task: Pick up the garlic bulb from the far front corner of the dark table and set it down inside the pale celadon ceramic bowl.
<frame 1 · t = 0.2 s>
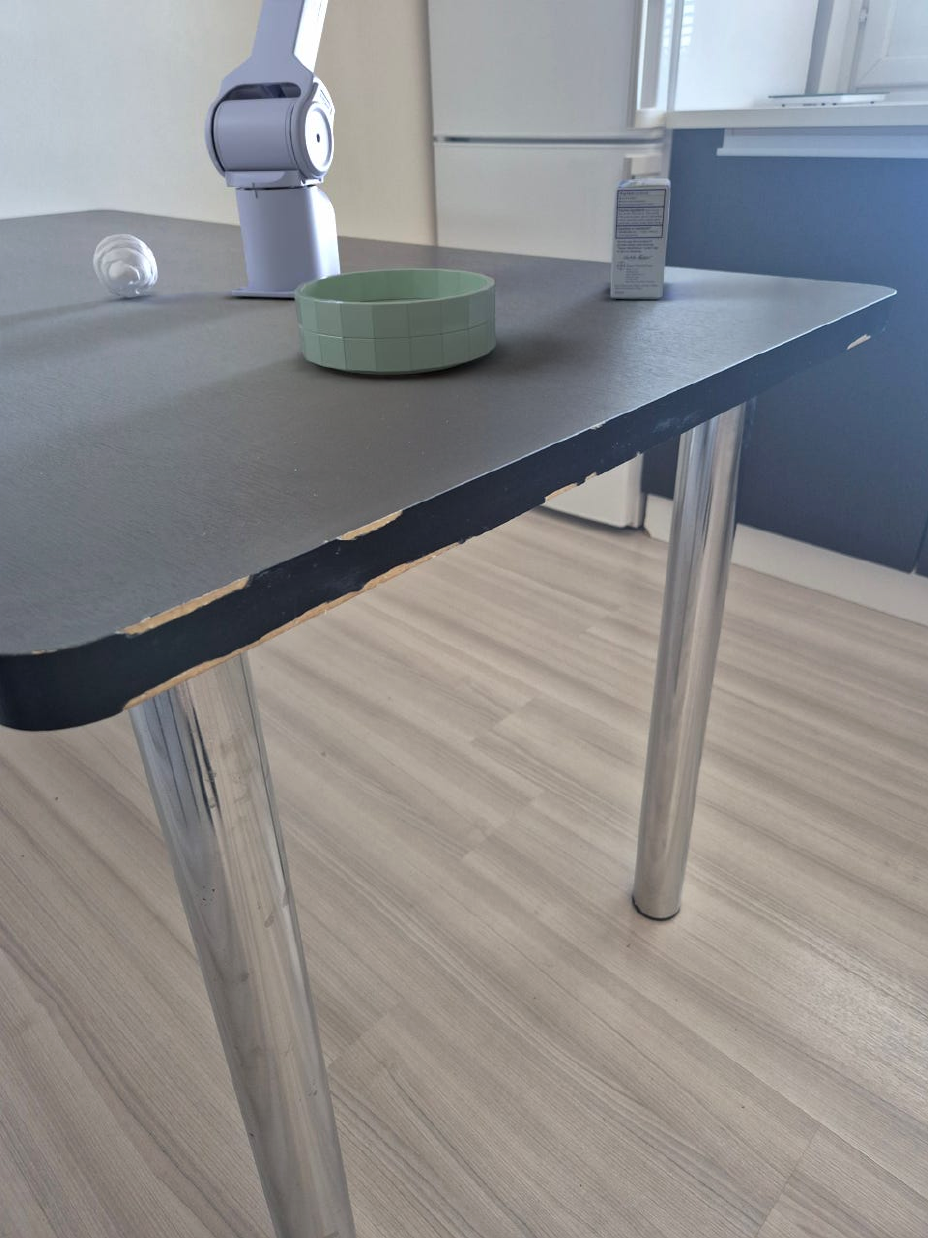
medicine box: (636, 293, 75), on the table
bowl: (399, 354, 57), on the table
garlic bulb: (133, 301, 78), on the table
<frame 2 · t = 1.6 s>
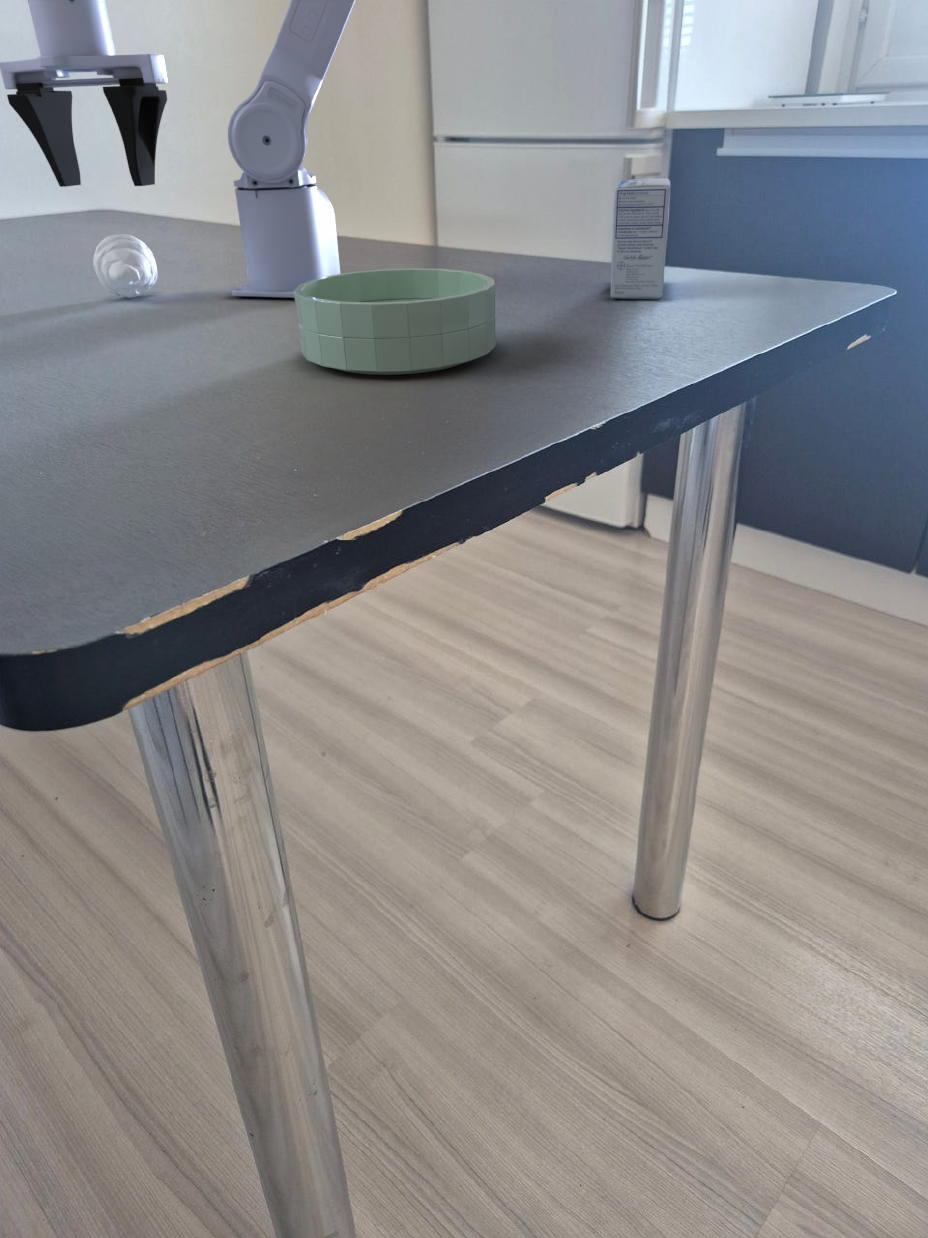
hand: (107, 185, 73), 9 cm above the table, tool pointing down, fingers open, 7 cm apart
nothing on the table moved.
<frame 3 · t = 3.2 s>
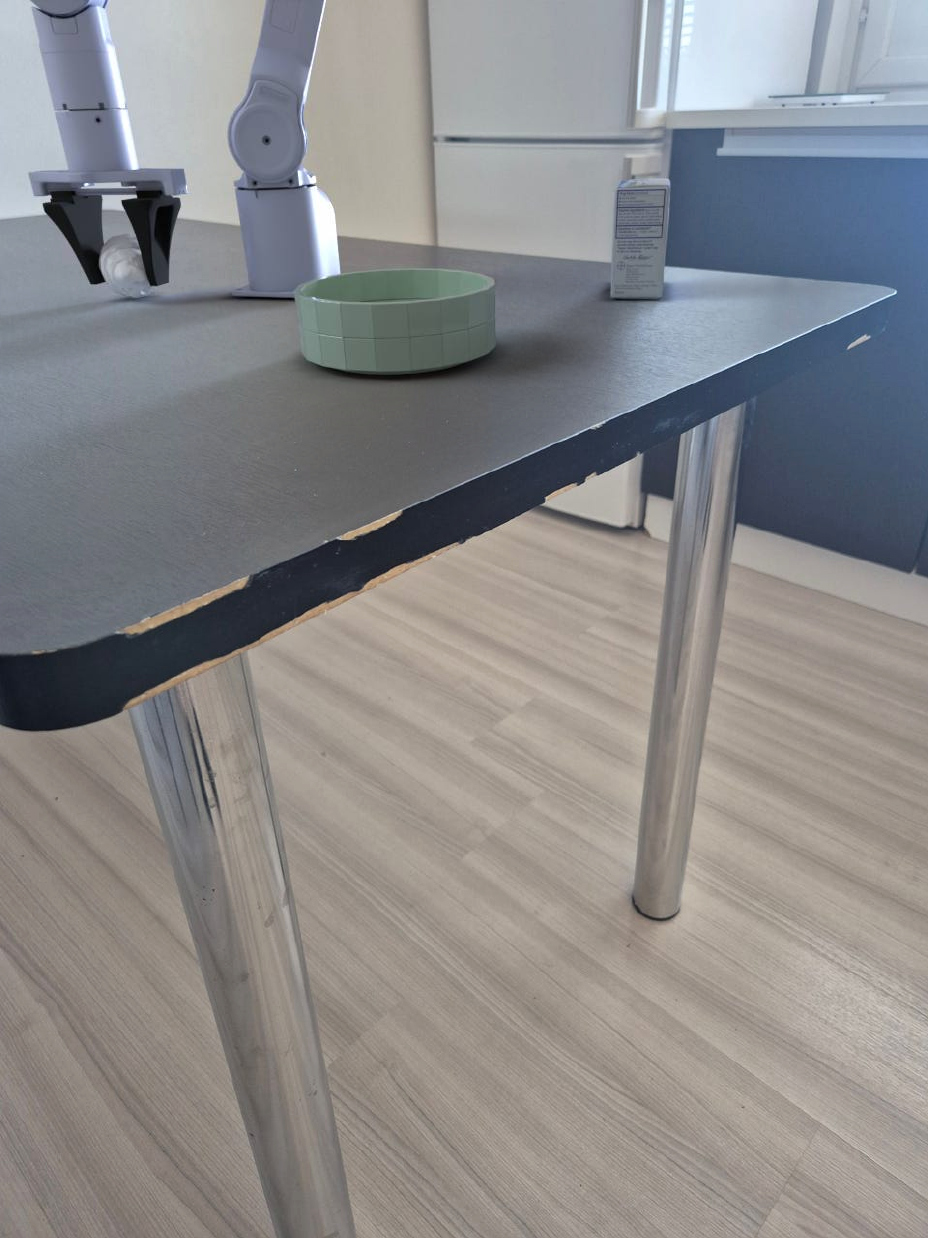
hand: (129, 283, 77), 1 cm above the table, tool pointing down, fingers closed on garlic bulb, 6 cm apart
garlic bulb: (139, 302, 78), on the table, touching gripper
everything else where it was.
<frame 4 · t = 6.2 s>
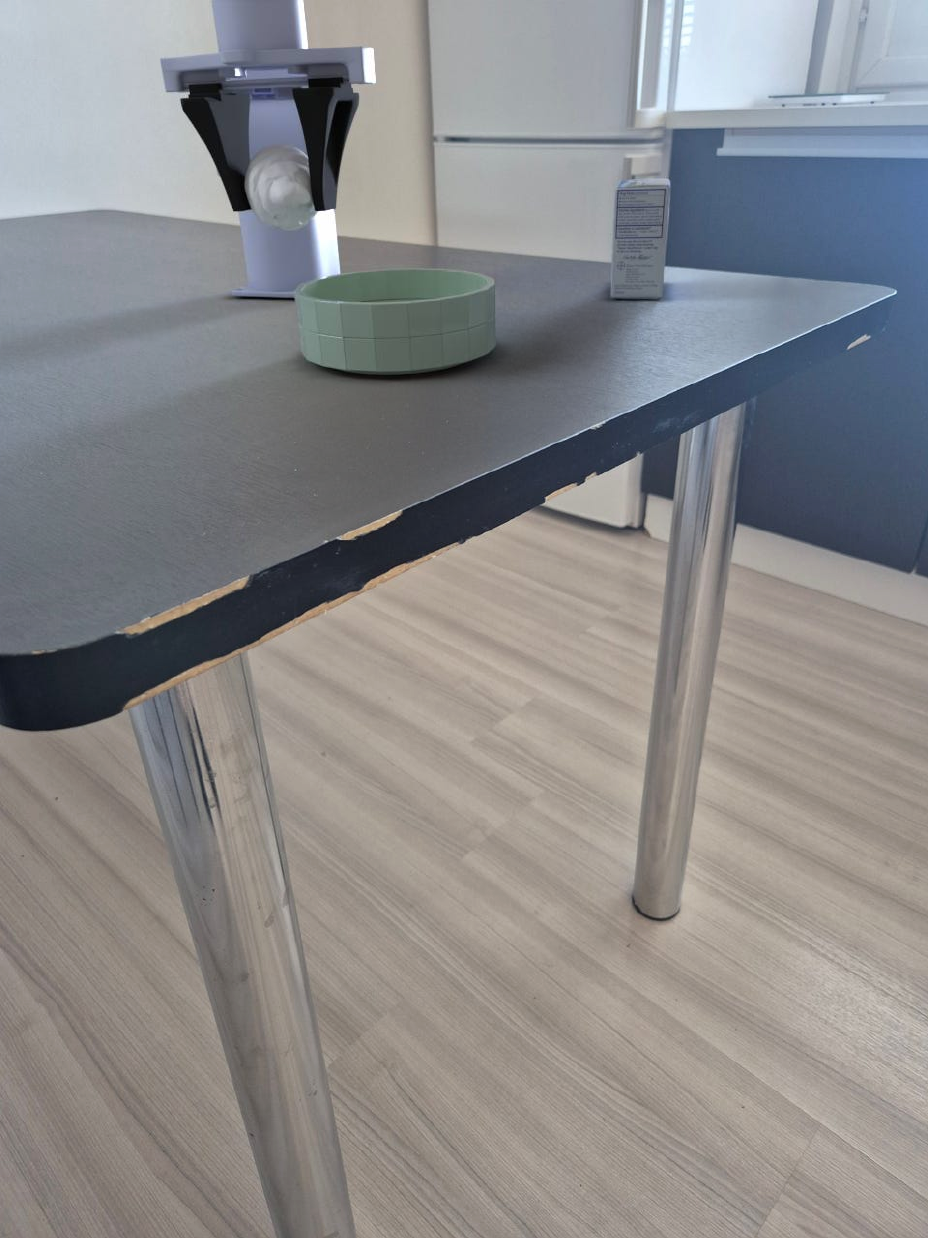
hand: (283, 210, 59), 8 cm above the table, tool pointing down, fingers closed on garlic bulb, 6 cm apart
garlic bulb: (294, 235, 60), point 7 cm above the table, touching gripper
everything else where it was.
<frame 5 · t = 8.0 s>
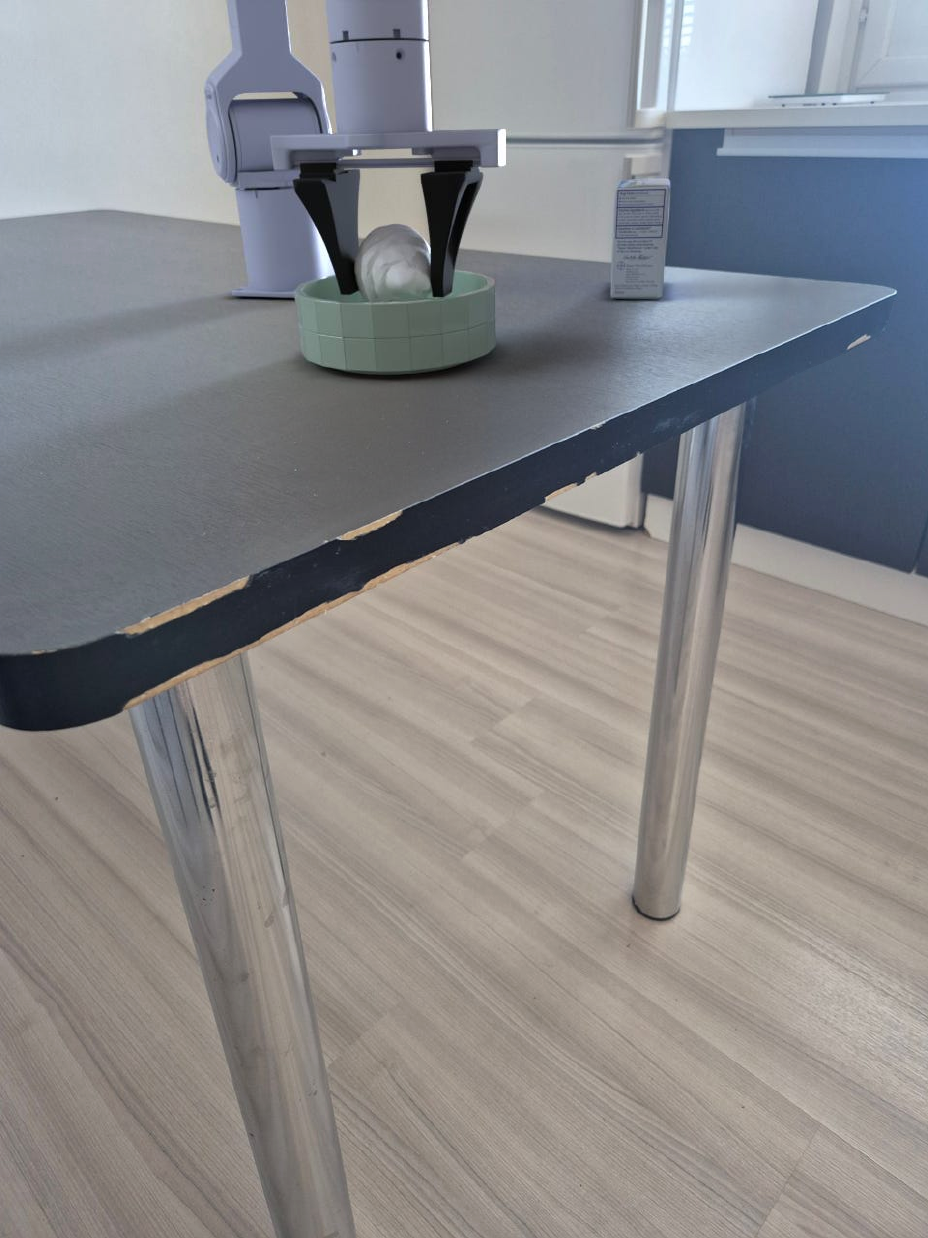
hand: (395, 293, 55), 4 cm above the table, tool pointing down, fingers closed on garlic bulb, 6 cm apart
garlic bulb: (405, 319, 56), point 2 cm above the table, touching gripper
everything else where it was.
when the fingers open (2 cm above the table, at t = 9.3 s): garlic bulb stays where it is, resting on bowl.
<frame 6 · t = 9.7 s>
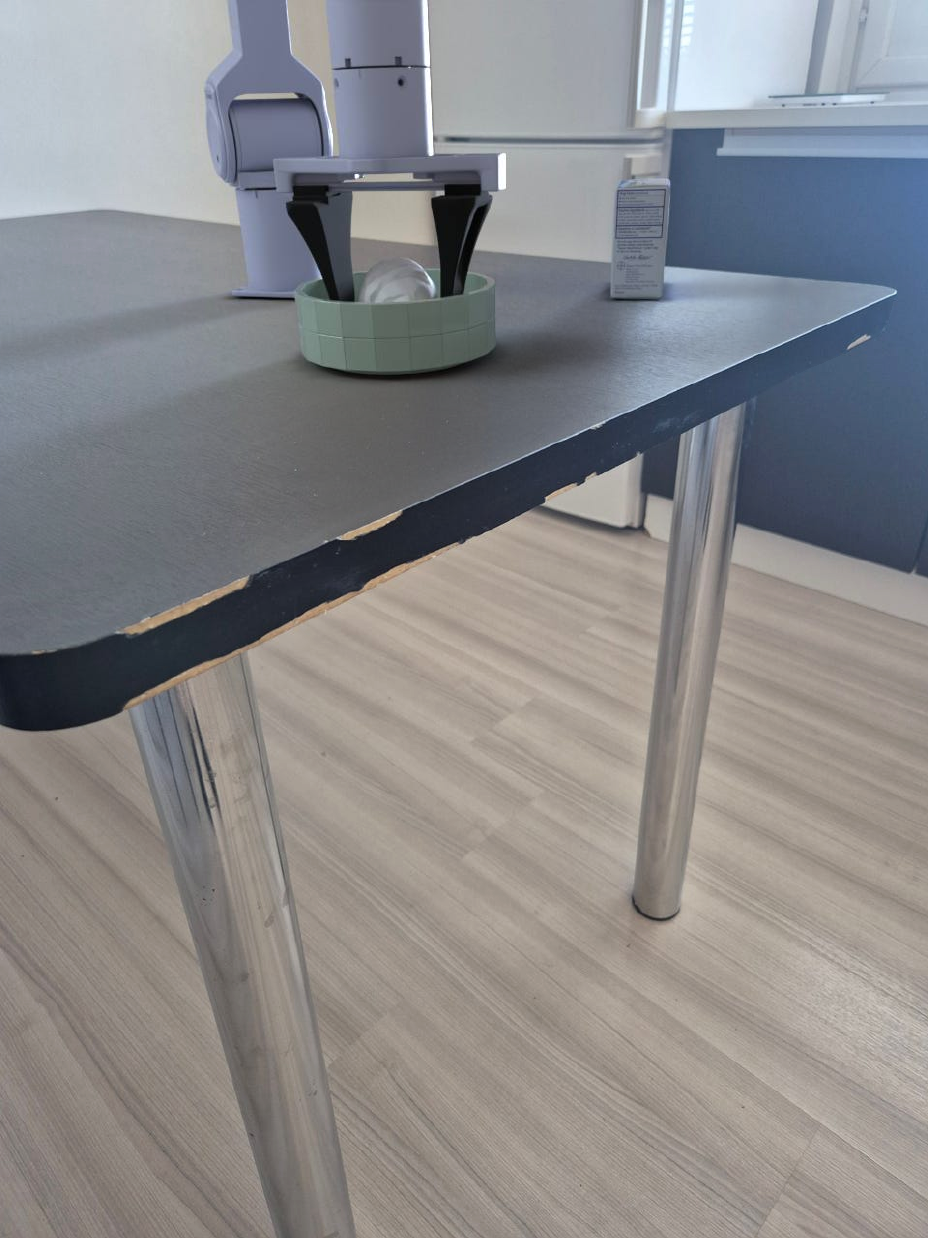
hand: (397, 313, 56), 3 cm above the table, tool pointing down, fingers open, 7 cm apart
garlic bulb: (407, 350, 57), resting on bowl
everything else where it was.
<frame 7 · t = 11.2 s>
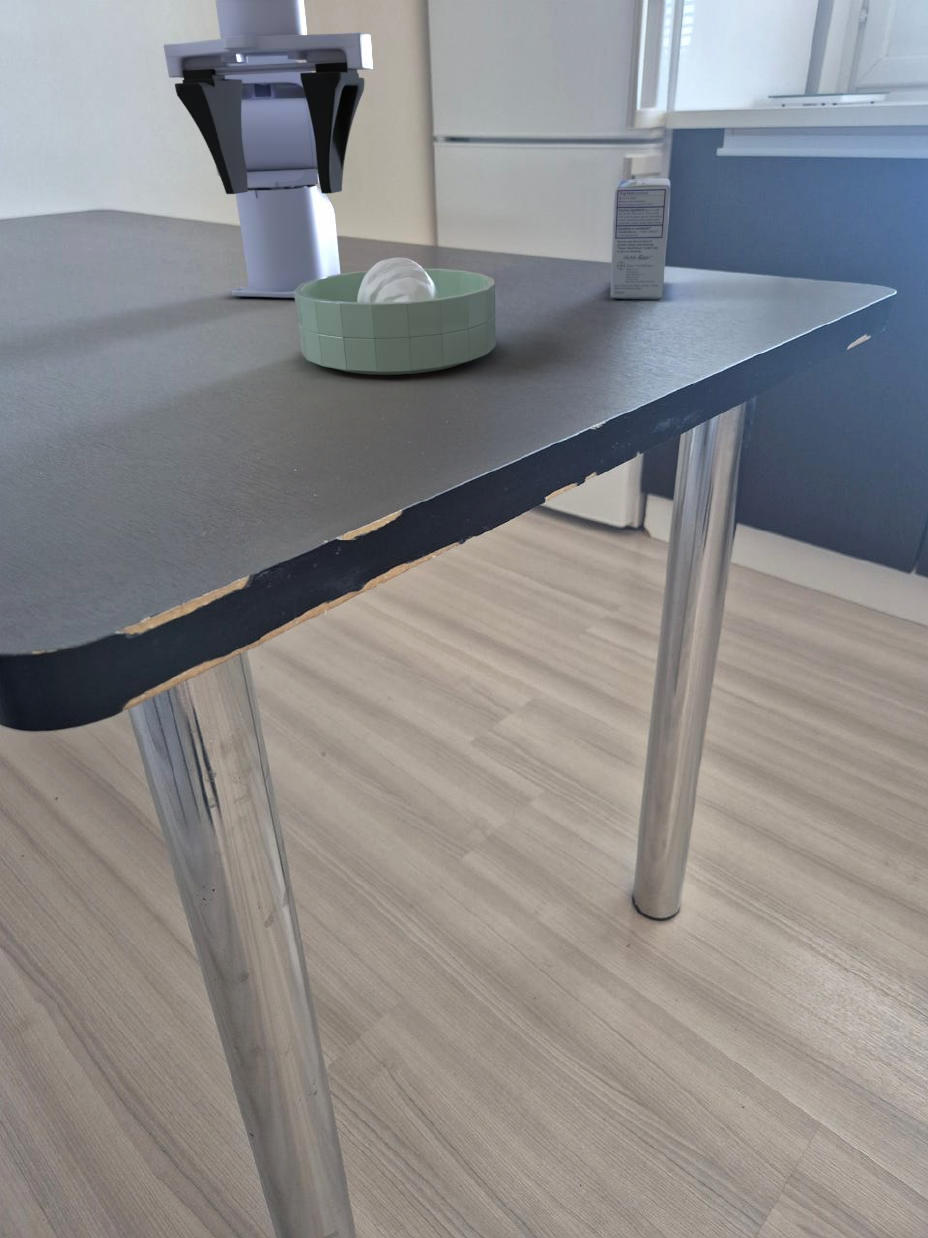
hand: (283, 192, 61), 9 cm above the table, tool pointing down, fingers open, 7 cm apart
nothing on the table moved.
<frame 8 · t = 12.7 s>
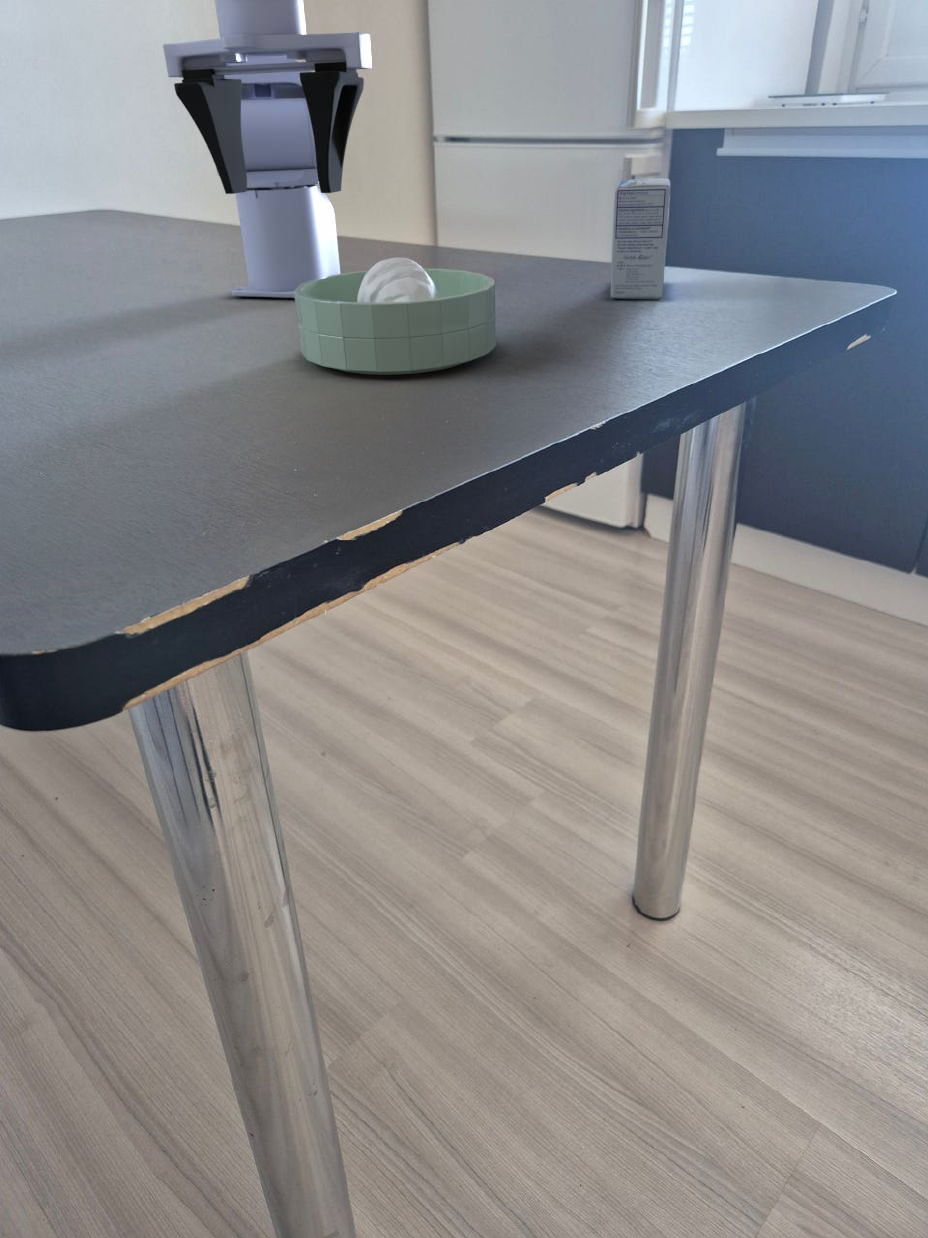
hand: (283, 192, 61), 9 cm above the table, tool pointing down, fingers open, 7 cm apart
nothing on the table moved.
at the end: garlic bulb inside the target area in the bowl (0.7 cm from its centre), point 0.3 cm above the bowl's base; the gripper is holding nothing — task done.
